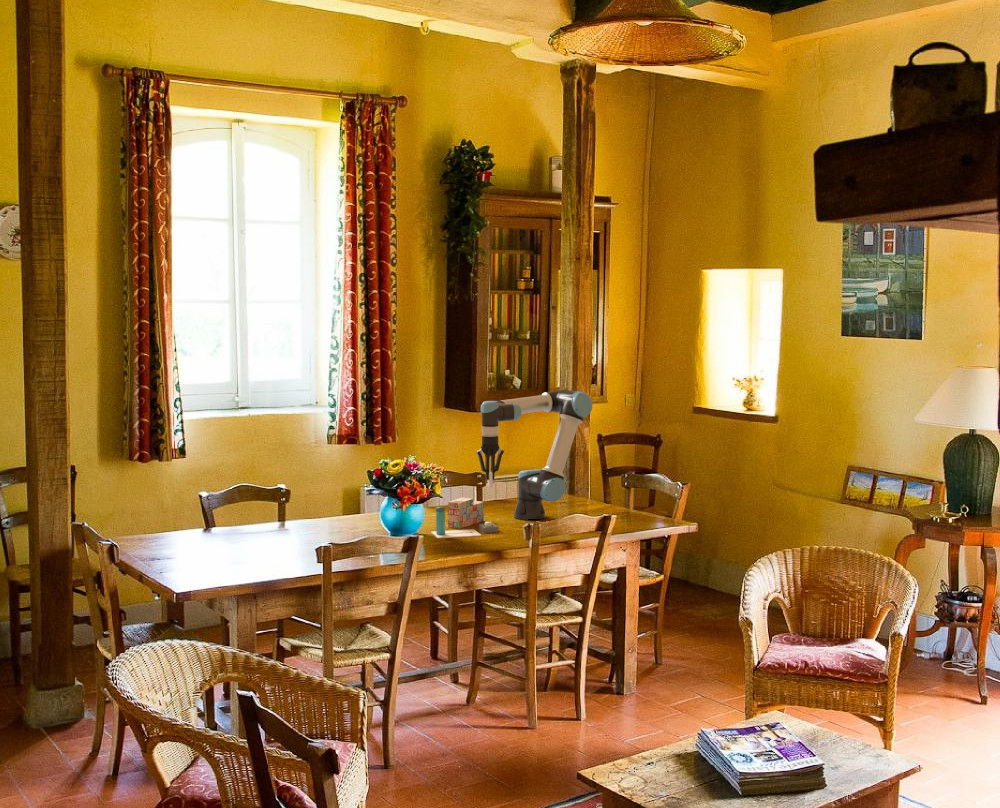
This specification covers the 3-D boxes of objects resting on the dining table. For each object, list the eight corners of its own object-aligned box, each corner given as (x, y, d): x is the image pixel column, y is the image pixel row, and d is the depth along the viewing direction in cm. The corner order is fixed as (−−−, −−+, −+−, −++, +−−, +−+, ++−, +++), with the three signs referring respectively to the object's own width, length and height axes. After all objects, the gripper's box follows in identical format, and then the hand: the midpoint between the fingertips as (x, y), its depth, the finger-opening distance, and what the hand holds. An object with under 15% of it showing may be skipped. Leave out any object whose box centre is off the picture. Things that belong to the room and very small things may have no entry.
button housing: (493, 528, 508) (493, 523, 508) (498, 532, 501) (498, 526, 501) (478, 529, 506) (478, 524, 506) (483, 532, 499) (483, 527, 499)
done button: (490, 528, 506) (491, 521, 505) (493, 530, 502) (493, 522, 502) (483, 529, 505) (483, 521, 504) (485, 530, 501) (486, 523, 501)
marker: (444, 532, 496) (443, 506, 495) (446, 534, 492) (445, 508, 491) (435, 533, 495) (434, 507, 494) (437, 535, 491) (436, 508, 490)
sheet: (473, 530, 505) (473, 529, 505) (481, 535, 493) (481, 534, 493) (431, 532, 499) (431, 531, 499) (437, 538, 487) (437, 537, 487)
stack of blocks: (472, 519, 528) (473, 494, 527) (483, 521, 525) (484, 495, 524) (447, 527, 510) (447, 501, 509) (459, 529, 507) (459, 502, 506)
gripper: (501, 433, 506) (501, 484, 509) (473, 434, 502) (473, 486, 505) (506, 435, 499) (506, 487, 502) (478, 437, 495) (478, 489, 497)
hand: (490, 486), depth 503 cm, fingers closed
